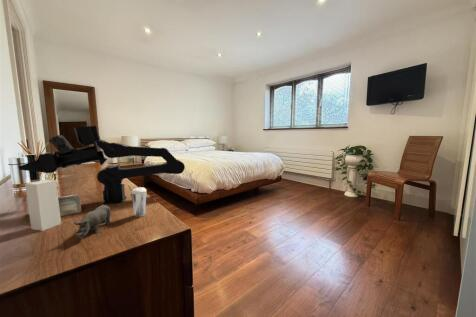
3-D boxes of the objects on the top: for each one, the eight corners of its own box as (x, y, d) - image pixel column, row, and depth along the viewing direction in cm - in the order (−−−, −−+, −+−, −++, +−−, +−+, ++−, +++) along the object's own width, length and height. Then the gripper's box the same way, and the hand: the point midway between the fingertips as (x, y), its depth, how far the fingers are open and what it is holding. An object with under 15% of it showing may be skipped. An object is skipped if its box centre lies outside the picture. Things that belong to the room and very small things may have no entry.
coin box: (78, 204, 74) (77, 194, 74) (81, 211, 67) (80, 200, 66) (41, 211, 67) (40, 200, 67) (39, 220, 60) (38, 207, 60)
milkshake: (133, 212, 66) (131, 183, 64) (150, 212, 66) (148, 183, 65) (127, 218, 61) (124, 187, 60) (144, 217, 61) (142, 186, 60)
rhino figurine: (65, 246, 46) (63, 222, 45) (101, 221, 59) (99, 202, 59) (84, 245, 46) (81, 221, 45) (115, 220, 60) (114, 201, 59)
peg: (50, 222, 59) (45, 179, 57) (61, 223, 58) (56, 180, 56) (31, 228, 55) (25, 183, 53) (42, 230, 53) (36, 184, 52)
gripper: (82, 134, 79) (31, 141, 72) (67, 133, 62) (-1, 143, 55) (91, 160, 81) (42, 170, 74) (78, 167, 64) (14, 180, 58)
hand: (26, 166), depth 65 cm, fingers open, 9 cm apart
